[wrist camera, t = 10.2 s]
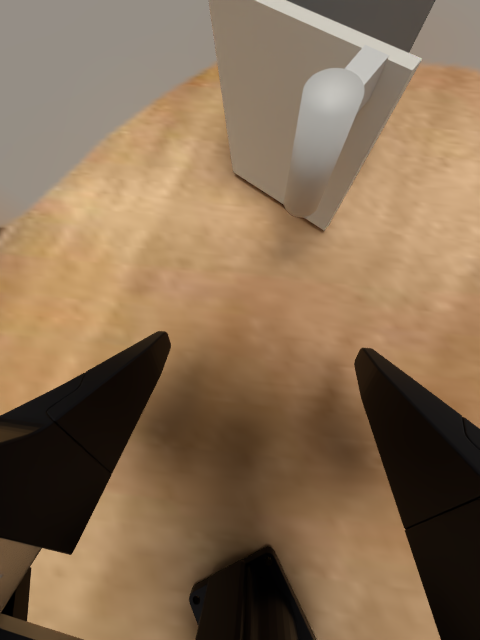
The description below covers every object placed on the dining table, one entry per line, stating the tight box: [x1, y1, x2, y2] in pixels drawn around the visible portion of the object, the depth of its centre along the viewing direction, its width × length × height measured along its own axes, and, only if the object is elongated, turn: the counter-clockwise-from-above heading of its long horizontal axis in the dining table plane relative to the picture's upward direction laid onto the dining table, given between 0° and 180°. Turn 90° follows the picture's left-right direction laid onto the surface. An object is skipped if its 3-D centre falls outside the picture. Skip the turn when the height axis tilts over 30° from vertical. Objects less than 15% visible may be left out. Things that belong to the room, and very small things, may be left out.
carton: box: [286, 0, 435, 53], centre depth 13 cm, size 5×10×10 cm, turn 83°
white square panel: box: [209, 0, 422, 231], centre depth 12 cm, size 4×10×10 cm, turn 51°
